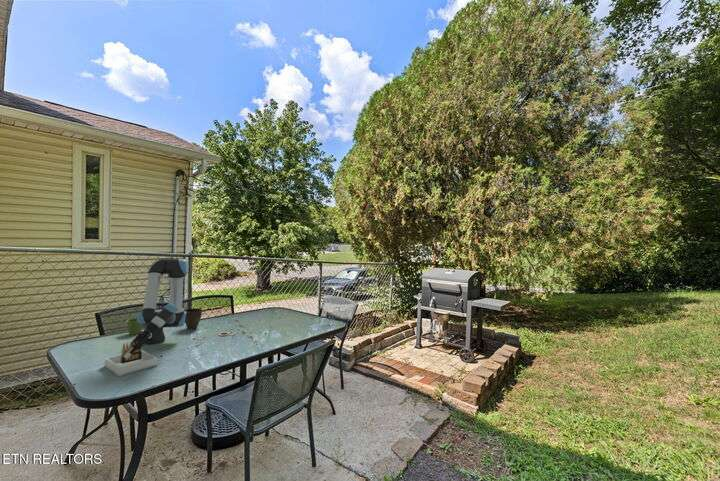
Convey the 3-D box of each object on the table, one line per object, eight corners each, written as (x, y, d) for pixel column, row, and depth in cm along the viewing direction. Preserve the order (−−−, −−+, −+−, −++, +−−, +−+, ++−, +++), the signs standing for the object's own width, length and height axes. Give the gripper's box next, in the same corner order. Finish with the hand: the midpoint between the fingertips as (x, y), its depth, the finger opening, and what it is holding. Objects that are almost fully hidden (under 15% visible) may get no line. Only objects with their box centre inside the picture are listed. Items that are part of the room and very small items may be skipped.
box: (104, 366, 192) (104, 358, 192) (141, 357, 209) (141, 349, 209) (119, 376, 180) (119, 367, 180) (156, 366, 197) (157, 358, 197)
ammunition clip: (121, 363, 190) (123, 344, 190) (120, 363, 191) (121, 343, 191) (141, 359, 199) (142, 340, 198) (140, 358, 200) (141, 339, 200)
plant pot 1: (136, 336, 250) (137, 322, 250) (121, 335, 250) (122, 321, 250) (147, 332, 261) (147, 318, 261) (132, 331, 262) (133, 317, 262)
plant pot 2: (178, 329, 272) (179, 311, 272) (190, 325, 287) (191, 307, 287) (193, 331, 270) (194, 312, 270) (205, 326, 285) (206, 309, 285)
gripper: (165, 330, 203) (134, 363, 189) (154, 325, 212) (123, 357, 198) (156, 323, 199) (124, 357, 185) (146, 319, 207) (114, 351, 193)
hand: (124, 357), depth 191 cm, fingers closed on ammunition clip, 2 cm apart
